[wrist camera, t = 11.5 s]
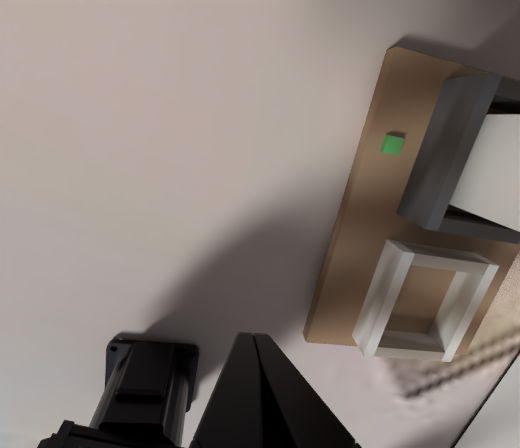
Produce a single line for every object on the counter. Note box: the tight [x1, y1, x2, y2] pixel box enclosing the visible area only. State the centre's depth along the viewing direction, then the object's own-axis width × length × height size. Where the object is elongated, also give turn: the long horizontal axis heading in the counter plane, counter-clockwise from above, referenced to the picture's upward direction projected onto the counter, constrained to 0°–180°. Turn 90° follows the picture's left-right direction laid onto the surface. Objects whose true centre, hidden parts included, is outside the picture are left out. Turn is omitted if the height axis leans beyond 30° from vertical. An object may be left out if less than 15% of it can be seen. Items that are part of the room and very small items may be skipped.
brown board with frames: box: [303, 46, 520, 362], centre depth 19 cm, size 20×14×4 cm
